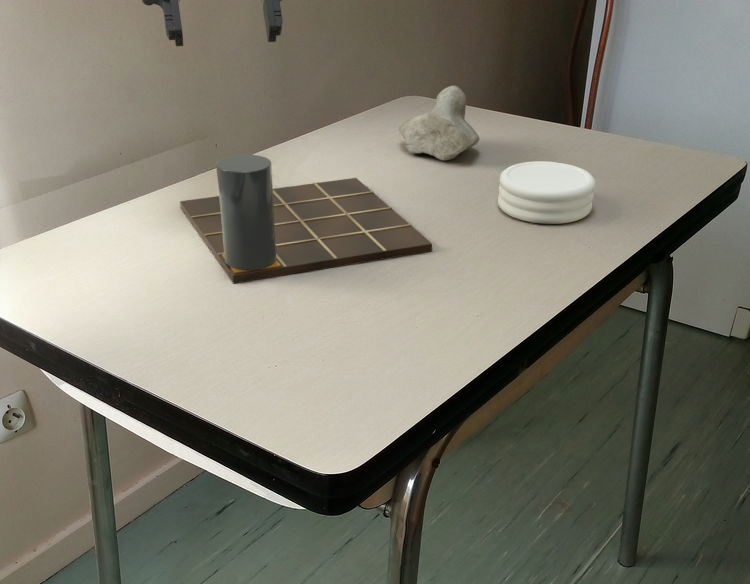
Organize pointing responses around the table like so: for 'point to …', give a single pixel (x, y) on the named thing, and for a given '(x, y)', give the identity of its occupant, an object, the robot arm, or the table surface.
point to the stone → (441, 127)
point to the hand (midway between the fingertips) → (226, 39)
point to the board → (317, 229)
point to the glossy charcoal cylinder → (247, 211)
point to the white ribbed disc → (546, 192)
